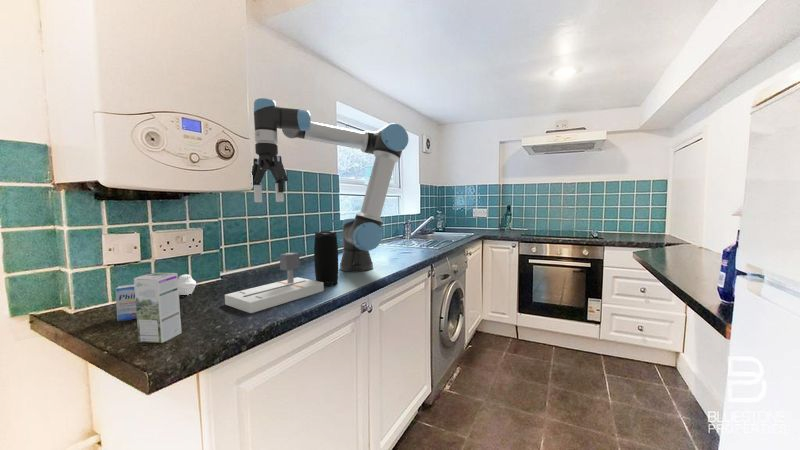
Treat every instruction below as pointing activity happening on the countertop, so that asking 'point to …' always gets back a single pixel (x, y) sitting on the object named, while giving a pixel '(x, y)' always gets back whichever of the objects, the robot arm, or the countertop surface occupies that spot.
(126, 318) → the medicine box
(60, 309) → the countertop surface
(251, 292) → the fader console
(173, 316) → the syrup box
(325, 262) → the portable speaker
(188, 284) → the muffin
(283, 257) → the fader tab
